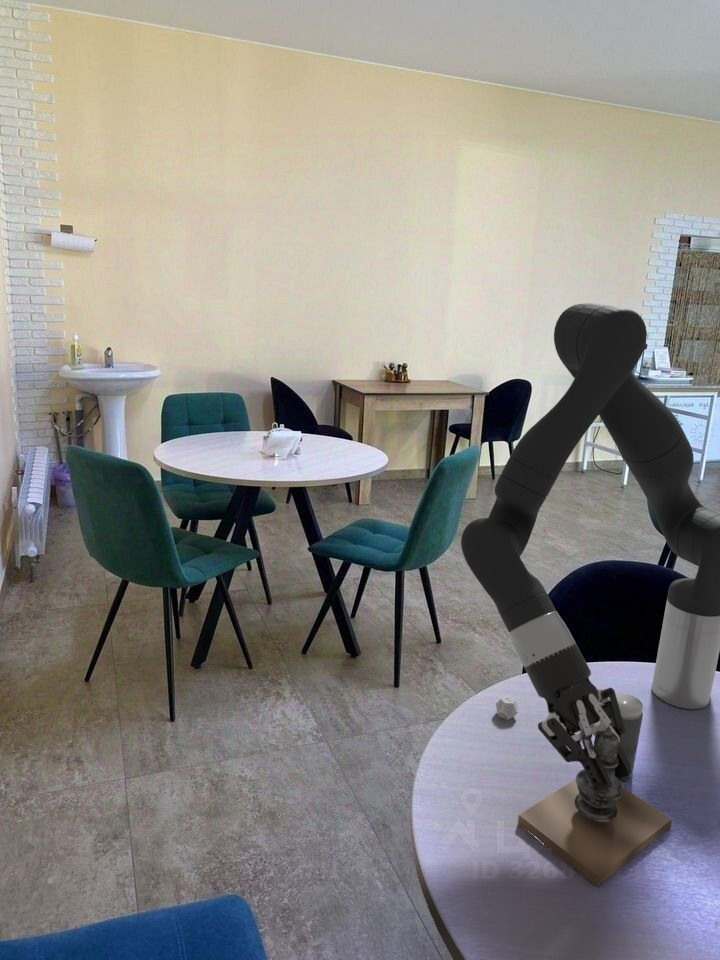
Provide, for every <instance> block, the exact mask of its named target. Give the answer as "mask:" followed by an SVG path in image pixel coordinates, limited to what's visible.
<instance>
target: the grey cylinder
mask: <svg viewBox="0 0 720 960" xmlns="http://www.w3.org/2000/svg"><path fill="white" fill-rule="evenodd" d="M615 694H616V698H617V701H618V705H619V709H620V712H621V716H622V720H623V723H624V727H625V733H624V734H621V736H620V742H619V745H620V747H621V748H622V750H623V752H624V754H625V756H626V758H627V760H628V762H629V764H630V768H631V771H632V773H631V774H630V775H628V776H626V777H622V778H618V777H616V775H615V773H614V776H615V777H616V778H618V779H619V781H620V782H621V783H625V782H628V781H630V780H632V778H633V773H634V767H635V763H636V756H637V750H638V745H639V739H640V735H641V728H642V721H643V718H644V717H643V716H644V713H643V707H644V704H643V702H642V701H641V700H640V699H639V698H638V697H636V696H634V695H632V694H630V693H625V692H615ZM611 722H612V726H615V725H614V721H613V717H612V718H611ZM601 731H603V730H601Z"/></svg>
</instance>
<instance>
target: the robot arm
mask: <svg viewBox="0 0 720 960" xmlns="http://www.w3.org/2000/svg"><path fill="white" fill-rule="evenodd" d="M647 338H648V333H647V326H646V323H645V321H644V319H643V318H642V316H641V315H640V314H639V313H638V312H636V311H634V310H632V309H630V308H626V307H623V306H622V307H621V306H615V305H609V304H601V303H592V302H589V303H587V302H585V303H583V302H582V303H577V304H573V305H571V306H569V307H568V308H565V310H563V312H562V313H561V314H560V315H559V317H558V319H557V320H556V323H555V326H554V331H553V342H554V348H555V351H556V353H557V356H558V357H559V360H560V361H561V363H562V365H564V367H565V369H567V371H568V372H569V373H570V375H571V376H572V377H573V381H572V382H571V384H570V385H569V388H568V389H567V391H566V392H565V393H564V394H563V396H561V398H560V399H559V401H558V402H556V404H555V405H554V406H553V407H552V408H551V409H550V410H549V411H548V412H547V413H546V414H544V415H543V417H541V418H540V419H539V420H538V421H537V422H535V424H534V425H532V426H531V427H530V428H529V429H528V430H527V431H526V433H524V435H523V436H522V437H521V439H519V441H518V442H517V444H516V446H514V448H513V450H512V452H511V454H510V456H509V458H508V459H507V461H506V464H505V465H504V467H503V469H502V471H501V472H500V473H501V474H500V475H499V477H498V479H497V481H496V484H495V487H494V494H495V496H496V499H495V501H494V504H493V506H492V508H491V511H490V513H489V515H488V517H481V518H477V519H474V520H472V521H470V522H469V523H468V524H467V525H466V526H465V528H464V529H463V532H462V534H461V539H460V545H461V546H460V547H461V551H462V554H463V557H464V559H465V562H466V564H467V566H468V567H469V569H470V571H471V572H472V573H473V576H474V577H475V578H476V579H477V581H478V583H479V584H480V585H481V587H482V588H483V589H484V591H485V592H486V594H488V596H489V597H490V598H491V600H492V601H493V603H494V604H495V606H496V607H495V608H496V609H497V612H498V613H499V616H500V618H501V619H502V622H503V623H504V625H505V628H506V630H507V631H508V633H509V635H510V638H511V640H512V644H513V647H514V649H515V652H516V654H517V656H518V657H519V660H520V661H521V664H522V667H523V668H524V670H525V672H526V673H527V675H528V676H527V677H528V678H529V680H530V681H531V683H532V686H533V688H534V689H535V692H536V693H537V696H538V697H540V698H543V699H544V700H545V702H546V705H547V711H548V715H547V717H546V719H544V720H543V721H541V722H538V724H537V728H538V730H539V731H540V733H541V734H542V735H543V736H544V738H545V739H547V741H548V742H549V743H550V744H551V745H552V747H553V748H554V749H555V750H556V751H557V752H558V754H559V755H560V756H561V757H562V758H563V759H564V761H565V762H567V763H571V762H579V763H580V765H582V767H583V770H584V769H585V771H586V773H587V775H588V777H589V779H590V781H591V783H592V785H593V786H594V787H595V788H596V789H597V790H598V791H602V790H606V789H609V788H610V787H612V782H611V780H610V778H609V776H608V774H607V772H606V770H605V768H604V767H603V765H602V763H601V761H600V759H599V757H596V752H595V749H594V743H593V741H592V738H593V737H594V738H595V736H596V734H597V733H598V732H599V731H602V730H606V728H608V727H610V728H611V730H612V731H611V732H612V733H614V734H615V735H616V736H617V737H618V739H619V742H620V736H621V734H624V733H625V727H624V723H623V720H622V716H621V712H620V709H619V705H618V701H617V698H616V694H615V693H616V692H615V689H614V688H613V687H608V688H605V689H597V687H596V686H595V685H594V684H593V683H592V682H591V680H590V679H589V678H590V676H591V675H592V672H591V671H592V670H591V669H590V666H588V663H587V662H586V660H585V658H584V656H583V654H582V652H581V651H580V649H579V647H578V645H577V643H576V640H575V639H574V637H573V635H572V633H571V632H570V630H569V628H568V627H567V625H566V623H565V621H564V620H563V619H562V617H561V616H560V615H559V612H558V611H557V609H556V607H555V605H554V604H553V601H552V599H551V598H550V597H549V594H548V593H547V590H546V588H545V587H544V585H543V584H542V582H541V581H540V580H539V579H538V577H536V576H534V575H533V574H532V573H530V572H529V570H528V569H527V567H526V565H525V564H524V562H523V560H522V558H521V556H522V555H523V553H524V551H525V549H526V547H527V545H528V543H529V541H530V538H531V535H532V532H533V530H534V526H535V524H536V521H537V517H538V515H539V512H540V510H541V508H542V506H543V504H544V502H545V501H546V500H547V497H548V495H549V494H550V492H551V490H552V488H553V486H554V485H555V482H556V480H557V479H558V477H559V475H560V473H561V471H562V470H563V467H564V466H565V464H566V462H567V461H568V460H569V457H570V455H571V454H572V453H573V451H574V449H575V448H576V447H577V446H578V444H579V442H580V441H581V439H582V438H583V436H585V434H586V432H587V431H588V430H589V429H590V428H591V426H592V425H593V423H594V422H595V421H596V419H597V418H598V417H599V418H600V420H601V422H602V423H603V424H604V427H605V428H606V430H607V432H608V434H609V435H610V436H611V438H612V440H613V442H614V443H615V445H616V447H617V449H618V452H619V454H620V455H621V457H622V459H623V460H624V462H625V464H626V465H627V467H628V469H629V471H630V472H631V474H632V476H633V477H634V479H635V480H636V481H637V483H638V484H639V485H638V486H639V487H640V489H641V490H642V493H643V494H644V495H645V498H646V500H647V501H648V502H649V505H650V506H651V508H652V510H653V512H654V515H655V518H656V520H657V522H658V524H659V526H660V529H661V532H662V535H663V538H664V540H665V542H666V544H667V546H668V547H669V549H670V550H671V551H672V553H674V554H675V555H676V556H677V557H678V558H680V559H682V560H684V561H687V562H689V564H692V565H694V566H697V568H698V569H697V572H696V575H695V577H684V578H678V579H675V580H673V581H672V582H671V583H670V585H669V588H668V591H667V592H668V593H667V598H666V604H665V607H664V608H665V610H664V615H663V621H662V626H661V627H662V628H661V631H660V639H659V643H658V649H657V656H656V662H655V667H654V671H653V677H652V683H651V691H652V692H653V694H654V695H655V696H656V697H657V698H659V700H661V701H663V702H665V703H667V704H669V705H671V706H674V707H677V708H681V709H685V710H700V709H703V708H706V707H707V706H708V705H709V703H710V699H711V694H712V690H713V685H714V680H715V676H716V671H717V665H718V660H719V655H720V512H717V511H715V510H713V509H709V508H707V507H706V506H704V505H703V504H701V503H700V501H699V500H698V498H697V496H696V495H695V494H694V491H693V490H692V488H691V486H690V484H689V480H690V477H691V474H692V471H693V467H694V453H693V449H692V448H693V447H692V446H691V443H690V440H689V439H688V438H687V435H686V433H685V431H684V429H683V428H682V426H681V423H680V422H679V421H678V419H677V417H676V415H674V413H673V412H672V411H671V410H670V409H669V408H668V407H667V406H666V405H665V404H664V403H663V402H662V401H661V399H660V398H658V397H657V396H656V395H655V394H654V393H653V391H651V390H650V389H649V388H647V386H645V385H644V383H642V381H640V380H639V379H638V378H637V377H636V375H634V373H633V372H632V371H633V370H634V368H635V367H636V366H637V364H638V362H639V361H640V359H641V357H642V356H643V353H644V350H645V348H646V345H647ZM612 717H613V721H614V725H615V726H612V722H611V718H612ZM606 731H607V730H606ZM575 733H577V734H575ZM581 742H582V744H581ZM582 746H583V747H582ZM617 758H618V760H619V764H618V766H617V767H615V775H616V777H618V778H622V777H626V776H628V775H630V774H631V773H632V771H631V768H630V764H629V762H628V760H627V758H626V756H625V754H624V752H623V750H622V748H621V747H620V745H619V746H618V752H617Z"/></svg>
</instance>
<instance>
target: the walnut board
mask: <svg viewBox="0 0 720 960" xmlns="http://www.w3.org/2000/svg"><path fill="white" fill-rule="evenodd" d="M623 788H624V793H623V795H622V796H621V797H620V798H619V800H618V801H617V803H616V804H615V806H616V808H617V815H616V817H615V818H614V819H613V820H611V821H608V822H598V821H594V820H591V819H589V818H587V817H585V816H584V815H582V814H581V813H580V812H579V811H578V810H577V808H576V806H575V798H576V796H577V795H578V794H579V790H578V787H577V783H576V778H575V779H573V780H572V781H570V782H569V783H567V784H565V785H564V786H562V787H561V788H559V789H558V790H556V791H554V792H553V793H551V794H550V795H548V796H547V797H545V798H544V799H542V800H541V801H538V802H537V803H536V804H534V805H532V806H531V807H529V808H527V809H526V810H524V811H523V812H521V813H520V814H518V821H517V825H518V824H519V825H520V826H521V827H520V826H519V825H518V826H519V827H520V828H522V827H523V828H524V829H526V830H527V831H529V832H530V833H532V834H533V835H534V836H536V837H537V838H538V839H539V840H540V841H541V842H542V843H544V845H546V846H547V847H548V848H549V849H551V850H552V851H553V852H554V853H555V856H557V857H558V856H559V857H560V858H559V857H558V858H559V859H560V860H562V859H563V860H564V861H563V860H562V861H563V862H565V863H566V864H567V865H568V866H569V867H570V868H572V869H573V870H574V871H576V872H577V873H579V874H580V875H581V876H582V877H583V878H585V879H586V880H587V881H588V882H590V883H591V884H592V885H593V886H595V887H596V888H598V887H599V886H601V884H603V883H604V882H605V881H607V880H608V879H609V878H610V877H612V876H613V875H614V874H615V873H617V872H618V871H619V870H620V869H621V868H623V867H624V866H625V865H626V864H628V863H629V862H631V860H633V859H634V858H636V857H637V856H638V855H639V854H640V853H641V852H642V851H645V850H646V849H647V848H648V847H649V846H650V845H652V844H653V843H655V841H657V840H658V839H659V838H660V837H661V836H663V835H664V834H665V833H667V832H668V831H669V830H671V826H672V820H673V818H672V817H669V816H668V815H667V814H665V813H664V812H662V811H661V810H659V809H657V808H656V807H654V806H652V804H650V803H648V802H646V801H645V800H644V799H642V798H640V797H639V796H638V795H636V794H634V793H633V792H631V791H629V790H628V789H626V788H625V787H623ZM523 828H522V829H523ZM524 829H523V830H524ZM527 831H526V832H527ZM541 842H540V843H541ZM542 843H541V844H542ZM544 845H543V846H544ZM546 846H545V847H546ZM547 847H546V848H547ZM548 848H547V849H548ZM549 849H548V850H549ZM551 850H550V851H551ZM552 851H551V852H552ZM553 852H552V853H553ZM554 853H553V854H554Z"/></svg>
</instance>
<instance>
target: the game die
mask: <svg viewBox="0 0 720 960" xmlns="http://www.w3.org/2000/svg"><path fill="white" fill-rule="evenodd" d="M495 707H496V713H497V715H498V716H499V717H500V718H502V719H504V720H506V721H509V720H511V719H513V718H514V717H515V716H516V715H517V714H519V706H518V703H517V702H516V700H515V698H513V697H510V696H508V695H505V696H502V697H501V698H500V699H499V700H498V701H497V702H496V703H495Z"/></svg>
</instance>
